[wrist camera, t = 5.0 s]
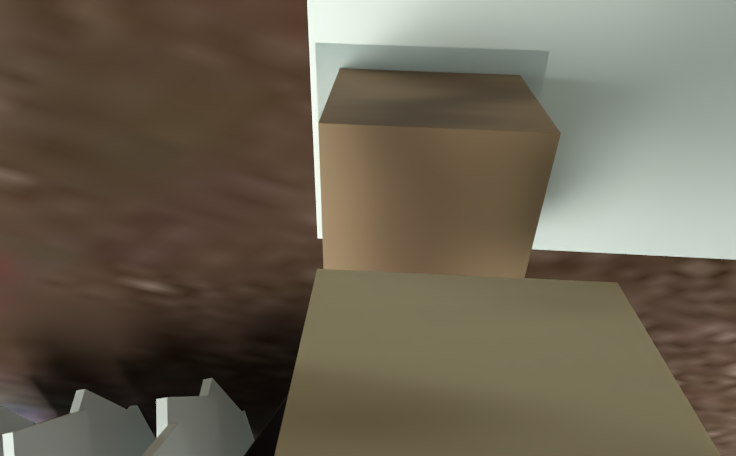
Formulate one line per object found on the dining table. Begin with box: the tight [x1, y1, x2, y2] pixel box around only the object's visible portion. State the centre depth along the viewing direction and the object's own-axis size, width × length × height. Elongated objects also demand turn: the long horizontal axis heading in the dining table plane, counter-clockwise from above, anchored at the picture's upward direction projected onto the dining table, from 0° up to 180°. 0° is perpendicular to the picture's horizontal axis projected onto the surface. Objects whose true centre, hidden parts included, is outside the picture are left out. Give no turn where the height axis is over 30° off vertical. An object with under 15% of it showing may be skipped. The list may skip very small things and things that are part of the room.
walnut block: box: [318, 68, 561, 278], centre depth 16 cm, size 6×6×5 cm
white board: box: [307, 0, 736, 260], centre depth 16 cm, size 17×14×1 cm
